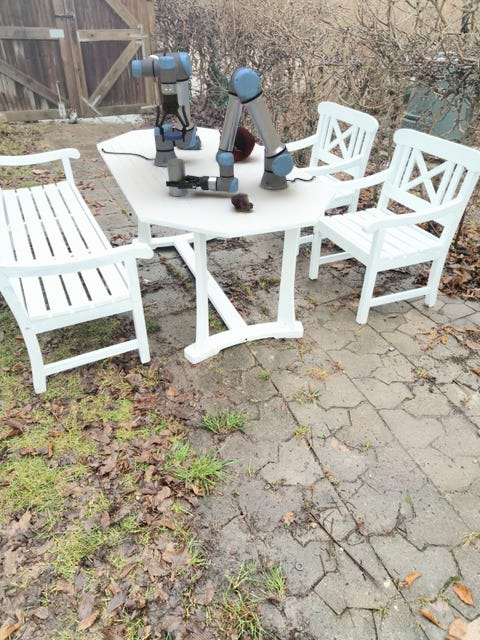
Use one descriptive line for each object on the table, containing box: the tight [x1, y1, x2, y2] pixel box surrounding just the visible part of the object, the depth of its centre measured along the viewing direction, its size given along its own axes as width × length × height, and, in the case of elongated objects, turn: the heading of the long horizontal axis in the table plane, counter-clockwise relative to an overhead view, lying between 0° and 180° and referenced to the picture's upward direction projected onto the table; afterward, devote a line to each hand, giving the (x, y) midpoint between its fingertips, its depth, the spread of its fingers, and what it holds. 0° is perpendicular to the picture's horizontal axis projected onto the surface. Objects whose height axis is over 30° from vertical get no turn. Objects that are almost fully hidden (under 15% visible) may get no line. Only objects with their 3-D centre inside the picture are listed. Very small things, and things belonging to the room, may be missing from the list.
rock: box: [230, 192, 254, 211], centre depth 223 cm, size 12×9×10 cm
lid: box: [164, 132, 183, 141], centre depth 229 cm, size 10×10×2 cm
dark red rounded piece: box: [218, 126, 257, 162], centre depth 296 cm, size 21×24×25 cm
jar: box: [166, 158, 188, 197], centre depth 241 cm, size 9×9×18 cm
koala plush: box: [178, 120, 202, 151], centre depth 323 cm, size 17×18×20 cm
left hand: (173, 141), depth 231 cm, fingers closed on lid, 10 cm apart
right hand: (169, 180), depth 243 cm, fingers closed on jar, 9 cm apart
